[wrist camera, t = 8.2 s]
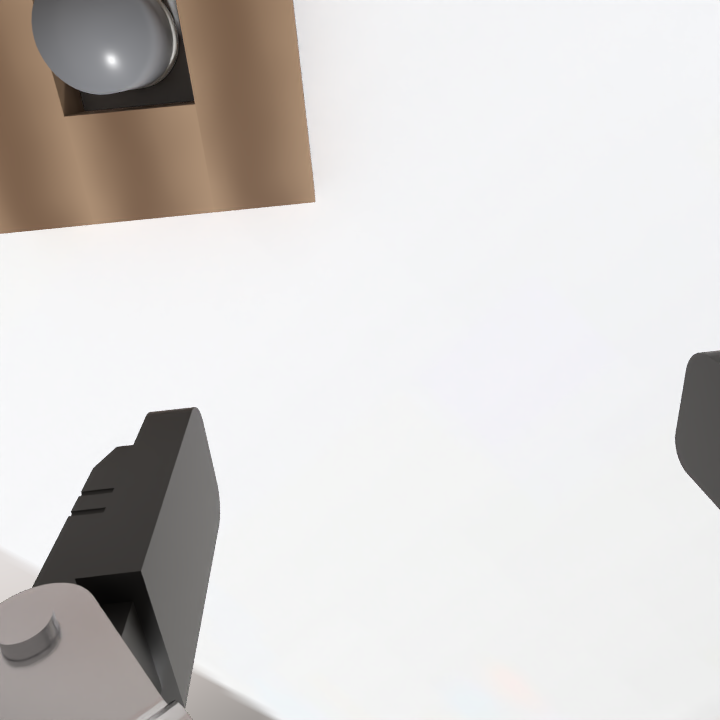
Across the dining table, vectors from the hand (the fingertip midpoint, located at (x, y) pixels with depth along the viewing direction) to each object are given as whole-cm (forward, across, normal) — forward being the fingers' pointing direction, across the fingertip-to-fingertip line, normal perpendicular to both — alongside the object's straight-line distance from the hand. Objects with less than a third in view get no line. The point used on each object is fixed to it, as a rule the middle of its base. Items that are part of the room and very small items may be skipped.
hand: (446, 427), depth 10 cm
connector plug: (+26, +10, -7) cm, 29 cm away
